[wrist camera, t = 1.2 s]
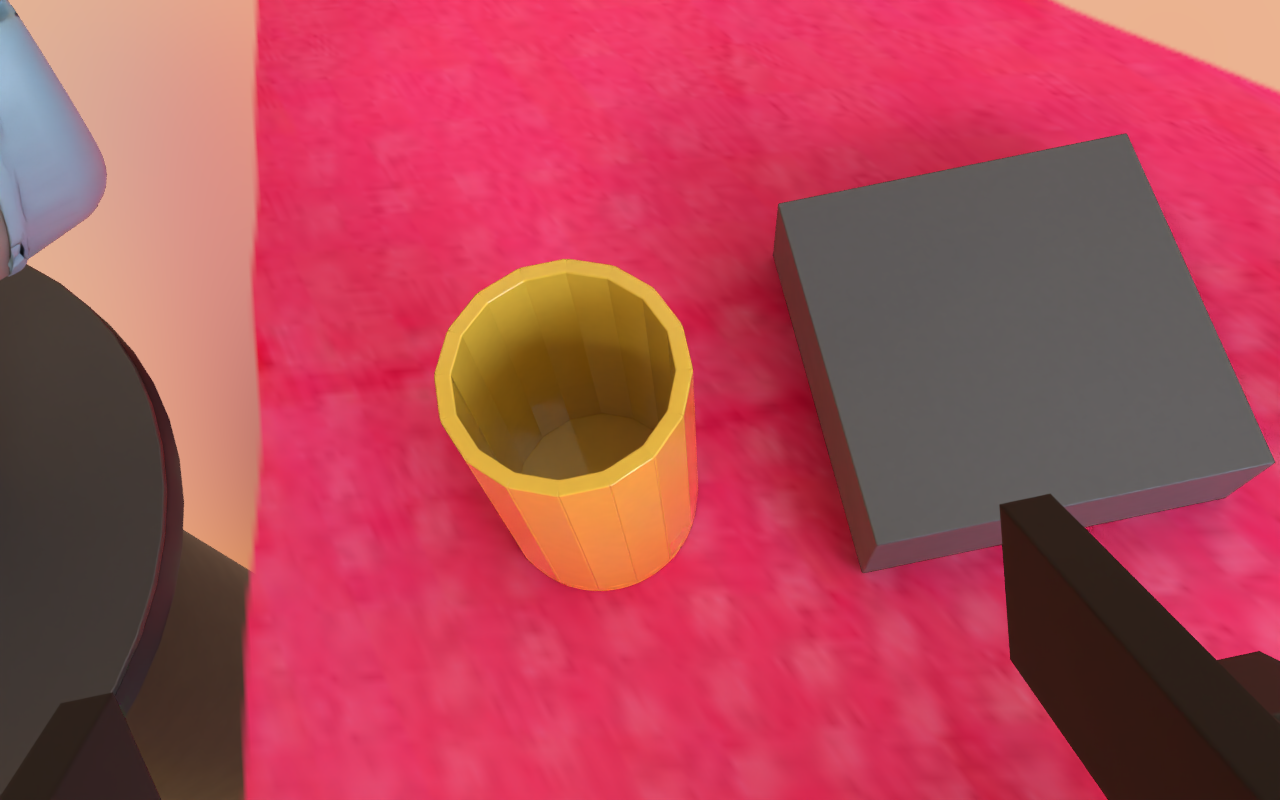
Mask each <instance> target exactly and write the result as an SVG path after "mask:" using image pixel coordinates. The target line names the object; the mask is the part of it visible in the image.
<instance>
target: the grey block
mask: <svg viewBox="0 0 1280 800" xmlns="http://www.w3.org/2000/svg"><path fill="white" fill-rule="evenodd" d="M773 257H774V261H775V264H776V268H777V272H778V275H779V279H780V282H781V286H782V289H783V293H784V296H785V300H786V304H787V307H788V311H789V314H790V318H791V321H792V325H793V329H794V332H795V336H796V339H797V343H798V346H799V350H800V353H801V357H802V361H803V364H804V368H805V371H806V375H807V378H808V382H809V386H810V389H811V393H812V396H813V400H814V403H815V407H816V410H817V414H818V418H819V421H820V425H821V428H822V432H823V435H824V439H825V443H826V446H827V450H828V453H829V457H830V460H831V464H832V467H833V471H834V475H835V478H836V482H837V485H838V489H839V492H840V496H841V499H842V503H843V507H844V510H845V514H846V517H847V521H848V524H849V528H850V532H851V535H852V539H853V542H854V546H855V549H856V553H857V556H858V560H859V564H860V567H861V571H862V573H867V572H872V571H876V570H881V569H886V568H891V567H896V566H900V565H905V564H910V563H915V562H920V561H924V560H929V559H934V558H939V557H944V556H948V555H953V554H958V553H963V552H968V551H972V550H977V549H982V548H987V547H992V546H996V545H1001V544H1002V534H1001V520H1000V506H999V504H1003V503H1008V502H1012V501H1017V500H1022V499H1027V498H1031V497H1036V496H1041V495H1046V494H1051V495H1052V496H1053V497H1054V498H1055V499H1056V500H1057V501H1058V502H1059V503H1060V504H1061V505H1062V506H1063V507H1064V508H1065V509H1066V510H1067V511H1068V512H1069V513H1070V514H1071V515H1072V516H1073V517H1074V518H1075V519H1076V520H1077V521H1078V522H1079V523H1080V524H1081V525H1082V526H1083V527H1087V526H1092V525H1097V524H1102V523H1107V522H1111V521H1116V520H1121V519H1126V518H1131V517H1135V516H1140V515H1145V514H1150V513H1155V512H1159V511H1164V510H1169V509H1174V508H1179V507H1183V506H1188V505H1193V504H1198V503H1203V502H1207V501H1212V500H1217V499H1222V498H1225V497H1227V496H1228V495H1230V494H1231V493H1233V492H1234V491H1235V490H1237V489H1238V488H1240V487H1241V486H1243V485H1244V484H1245V483H1247V482H1248V481H1250V480H1251V479H1253V478H1254V477H1255V476H1257V475H1258V474H1260V473H1261V472H1263V471H1264V470H1265V469H1267V468H1268V467H1270V466H1271V465H1273V464H1274V463H1275V461H1274V459H1273V456H1272V454H1271V452H1270V450H1269V447H1268V445H1267V443H1266V441H1265V439H1264V436H1263V434H1262V432H1261V430H1260V428H1259V425H1258V423H1257V421H1256V419H1255V416H1254V414H1253V412H1252V410H1251V408H1250V405H1249V403H1248V401H1247V399H1246V397H1245V394H1244V392H1243V390H1242V388H1241V385H1240V383H1239V381H1238V379H1237V377H1236V374H1235V372H1234V370H1233V368H1232V366H1231V363H1230V361H1229V359H1228V357H1227V354H1226V352H1225V350H1224V348H1223V346H1222V343H1221V341H1220V339H1219V337H1218V335H1217V332H1216V330H1215V328H1214V326H1213V323H1212V321H1211V319H1210V317H1209V315H1208V312H1207V310H1206V308H1205V306H1204V303H1203V301H1202V299H1201V297H1200V295H1199V292H1198V290H1197V288H1196V286H1195V284H1194V281H1193V279H1192V277H1191V275H1190V272H1189V270H1188V268H1187V266H1186V264H1185V261H1184V259H1183V257H1182V255H1181V253H1180V250H1179V248H1178V246H1177V244H1176V241H1175V239H1174V237H1173V235H1172V233H1171V230H1170V228H1169V226H1168V224H1167V222H1166V219H1165V217H1164V215H1163V213H1162V210H1161V208H1160V206H1159V204H1158V202H1157V199H1156V197H1155V195H1154V193H1153V191H1152V188H1151V186H1150V184H1149V182H1148V179H1147V177H1146V175H1145V173H1144V171H1143V168H1142V166H1141V164H1140V162H1139V160H1138V157H1137V155H1136V153H1135V151H1134V148H1133V146H1132V144H1131V142H1130V140H1129V137H1128V135H1127V134H1121V135H1116V136H1111V137H1106V138H1101V139H1096V140H1091V141H1086V142H1081V143H1076V144H1071V145H1066V146H1061V147H1056V148H1051V149H1046V150H1041V151H1037V152H1032V153H1027V154H1022V155H1017V156H1012V157H1007V158H1002V159H997V160H992V161H987V162H982V163H977V164H972V165H967V166H962V167H957V168H952V169H948V170H943V171H938V172H933V173H928V174H923V175H918V176H913V177H908V178H903V179H898V180H893V181H888V182H883V183H878V184H873V185H868V186H864V187H859V188H854V189H849V190H844V191H839V192H834V193H829V194H824V195H819V196H814V197H809V198H804V199H799V200H794V201H789V202H784V203H780V204H778V210H777V220H776V231H775V241H774V251H773Z"/></svg>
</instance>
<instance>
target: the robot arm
mask: <svg viewBox="0 0 1280 800" xmlns="http://www.w3.org/2000/svg"><path fill="white" fill-rule="evenodd" d="M106 177H107V173H106V166H105V163H104V159H103V156H102V154H101V152H100V150H99V148H98V146H97V144H96V142H95V140H94V138H93V137H92V135H91V133H90V132H89V130H88V128H87V126H86V124H85V123H84V121H83V119H82V118H81V116H80V114H79V113H78V111H77V109H76V108H75V106H74V104H73V103H72V101H71V99H70V98H69V96H68V94H67V93H66V91H65V89H64V88H63V86H62V84H61V83H60V81H59V80H58V78H57V77H56V75H55V73H54V72H53V70H52V68H51V67H50V65H49V63H48V62H47V60H46V59H45V57H44V56H43V54H42V52H41V50H40V49H39V47H38V46H37V44H36V43H35V41H34V39H33V38H32V36H31V35H30V33H29V32H28V30H27V29H26V27H25V25H24V24H23V22H22V21H21V19H20V17H19V16H18V14H17V13H16V11H15V10H14V8H13V7H12V5H10V3H9V2H8V0H0V280H1V279H3V278H5V277H7V276H8V277H10V276H11V275H14V274H16V273H17V272H19V271H21V270H22V269H23V268H24V267H25V265H26V263H27V260H28V259H29V258H30V257H32V256H33V255H35V254H36V253H38V252H39V251H40V250H42V249H43V248H45V247H46V246H48V245H49V244H50V243H52V242H53V241H55V240H56V239H58V238H59V237H61V236H62V235H63V234H65V233H66V232H68V231H69V230H71V229H72V228H73V227H75V226H76V225H78V224H79V223H81V222H82V221H84V220H85V219H86V218H87V217H89V216H90V215H91V214H92V212H93V211H94V210H95V209H96V207H97V206H98V203H99V202H100V200H101V198H102V196H103V194H104V191H105V188H106ZM999 506H1000V520H1001V534H1002V549H1003V563H1004V577H1005V591H1006V605H1007V619H1008V633H1009V647H1010V660H1011V661H1012V662H1013V664H1014V665H1015V667H1016V668H1017V670H1018V671H1019V672H1020V674H1021V675H1022V677H1023V678H1024V680H1025V681H1026V683H1027V684H1028V685H1029V687H1030V688H1031V690H1032V691H1033V693H1034V694H1035V695H1036V697H1037V698H1038V700H1039V701H1040V703H1041V704H1042V705H1043V707H1044V708H1045V710H1046V711H1047V713H1048V714H1049V716H1050V717H1051V718H1052V720H1053V721H1054V723H1055V724H1056V726H1057V727H1058V728H1059V730H1060V731H1061V733H1062V734H1063V736H1064V737H1065V738H1066V740H1067V741H1068V743H1069V744H1070V746H1071V747H1072V749H1073V750H1074V751H1075V753H1076V754H1077V756H1078V757H1079V759H1080V760H1081V761H1082V763H1083V764H1084V766H1085V767H1086V769H1087V770H1088V772H1089V773H1090V774H1091V776H1092V777H1093V779H1094V780H1095V782H1096V783H1097V784H1098V786H1099V787H1100V789H1101V790H1102V792H1103V793H1104V794H1105V796H1106V797H1107V799H1108V800H1280V661H1278V660H1276V659H1274V658H1272V657H1270V656H1268V655H1266V654H1264V653H1262V652H1260V651H1258V652H1253V653H1249V654H1244V655H1239V656H1235V657H1230V658H1225V659H1221V660H1216V659H1215V658H1214V657H1213V656H1212V655H1211V654H1210V653H1209V652H1208V651H1207V650H1206V649H1205V648H1204V647H1203V646H1202V645H1201V644H1200V643H1199V642H1198V641H1197V640H1196V639H1195V638H1194V637H1193V636H1192V635H1191V634H1190V633H1189V632H1188V631H1187V630H1186V629H1185V628H1184V627H1183V626H1182V625H1181V624H1180V623H1179V622H1178V621H1177V620H1176V619H1175V618H1174V617H1173V616H1172V615H1171V614H1170V613H1169V612H1168V611H1167V610H1166V609H1165V608H1164V607H1163V606H1162V605H1161V604H1160V603H1159V602H1158V601H1157V600H1156V599H1155V598H1154V597H1153V596H1152V595H1151V594H1150V593H1149V592H1148V591H1147V590H1146V589H1145V588H1144V587H1143V586H1142V585H1141V584H1140V583H1139V582H1138V581H1137V580H1136V579H1135V578H1134V577H1133V576H1132V575H1131V574H1130V573H1129V572H1128V571H1127V570H1126V569H1125V568H1124V567H1123V566H1122V565H1121V564H1120V563H1119V562H1118V561H1117V560H1116V559H1115V558H1114V557H1113V556H1112V555H1111V554H1110V553H1109V552H1108V551H1107V550H1106V549H1105V548H1104V547H1103V546H1102V545H1101V544H1100V543H1099V542H1098V541H1097V540H1096V539H1095V538H1094V537H1093V536H1092V535H1091V534H1090V533H1089V532H1088V531H1087V530H1086V529H1085V528H1084V527H1083V526H1082V525H1081V524H1080V523H1079V522H1078V521H1077V520H1076V519H1075V518H1074V517H1073V516H1072V515H1071V514H1070V513H1069V512H1068V511H1067V510H1066V509H1065V508H1064V507H1063V506H1062V505H1061V504H1060V503H1059V502H1058V501H1057V500H1056V499H1055V498H1054V497H1053V496H1052V495H1051V494H1046V495H1041V496H1036V497H1031V498H1027V499H1022V500H1017V501H1012V502H1008V503H1003V504H999ZM0 800H161V798H160V796H159V794H158V792H157V789H156V787H155V785H154V783H153V780H152V778H151V776H150V774H149V772H148V769H147V767H146V765H145V763H144V760H143V758H142V756H141V754H140V751H139V749H138V747H137V745H136V743H135V740H134V738H133V736H132V734H131V731H130V729H129V727H128V725H127V723H126V720H125V718H124V716H123V714H122V711H121V709H120V707H119V705H118V702H117V700H116V698H115V696H114V694H113V692H112V693H107V694H102V695H97V696H93V697H88V698H83V699H78V700H74V701H69V702H64V703H60V705H59V706H58V708H57V709H56V711H55V712H54V714H53V716H52V717H51V719H50V720H49V722H48V723H47V725H46V726H45V728H44V729H43V731H42V733H41V734H40V736H39V737H38V739H37V740H36V742H35V743H34V745H33V746H32V748H31V750H30V751H29V753H28V754H27V756H26V757H25V759H24V760H23V762H22V763H21V765H20V767H19V768H18V770H17V771H16V773H15V774H14V776H13V777H12V779H11V780H10V782H9V784H8V785H7V787H6V788H5V790H4V791H3V793H2V794H1V796H0Z"/></svg>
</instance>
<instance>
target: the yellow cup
mask: <svg viewBox="0 0 1280 800" xmlns="http://www.w3.org/2000/svg"><path fill="white" fill-rule="evenodd" d="M434 374H435V376H434V381H435V388H436V396H437V403H438V411H439V418H440V421H441V424H442V426H443V427H444V429H445V430H446V432H447V434H448V435H449V437H450V438H451V440H452V441H453V443H454V445H455V446H456V448H457V449H458V451H459V453H460V454H461V456H462V457H463V459H464V460H465V462H466V464H467V465H468V467H469V468H470V470H471V471H472V473H473V475H474V476H475V478H476V479H477V481H478V483H479V484H480V486H481V487H482V489H483V490H484V492H485V494H486V495H487V497H488V498H489V500H490V502H491V503H492V505H493V506H494V508H495V509H496V511H497V513H498V514H499V516H500V517H501V519H502V520H503V522H504V524H505V525H506V527H507V528H508V530H509V532H510V533H511V535H512V536H513V538H514V539H515V541H516V543H517V544H518V546H519V547H520V549H521V550H522V552H523V553H524V555H525V557H526V558H527V560H529V562H530V563H532V564H533V565H534V566H535V567H536V568H537V569H539V570H540V571H541V572H543V573H544V574H545V575H547V576H548V577H550V578H552V579H554V580H555V581H557V582H560V583H562V584H564V585H567V586H570V587H574V588H578V589H582V590H590V591H608V590H615V589H621V588H625V587H628V586H632V585H634V584H636V583H639V582H641V581H644V580H645V579H647V578H649V577H650V576H652V575H654V574H655V573H657V572H658V571H659V570H661V569H662V568H663V567H664V566H666V565H667V564H668V563H669V562H670V561H671V560H672V559H673V558H674V556H675V555H676V554H677V552H678V551H679V550H680V548H681V547H682V545H683V544H684V542H685V540H686V538H687V537H688V534H689V532H690V529H691V527H692V524H693V520H694V517H695V512H696V504H697V496H698V473H697V451H696V428H695V406H694V383H693V366H692V362H691V358H690V354H689V350H688V345H687V341H686V337H685V333H684V328H683V326H682V324H681V322H680V321H679V320H678V318H677V317H676V316H675V314H674V313H673V312H672V310H671V309H670V308H669V307H668V305H667V304H666V303H665V301H664V300H663V299H662V298H661V296H660V295H659V294H658V292H657V291H656V290H655V289H654V288H653V287H651V286H649V285H648V284H646V283H644V282H642V281H641V280H639V279H637V278H635V277H633V276H632V275H630V274H628V273H626V272H625V271H623V270H621V269H619V268H618V267H616V266H612V265H607V264H600V263H593V262H586V261H580V260H573V259H567V260H566V259H561V260H556V261H551V262H547V263H542V264H537V265H532V266H527V267H522V268H519V269H516V270H515V271H513V272H511V273H510V274H508V275H506V276H505V277H503V278H501V279H500V280H498V281H496V282H495V283H493V284H491V285H490V286H488V287H486V288H485V289H483V290H481V291H480V292H478V294H476V295H475V296H474V297H473V299H472V300H471V301H470V302H469V304H468V305H467V306H466V307H465V309H464V310H463V311H462V313H461V314H460V315H459V316H458V318H457V319H456V320H455V321H454V323H453V324H452V325H451V326H450V328H449V329H448V331H447V333H446V336H445V340H444V343H443V346H442V350H441V353H440V357H439V360H438V363H437V367H436V370H435V373H434Z"/></svg>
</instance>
